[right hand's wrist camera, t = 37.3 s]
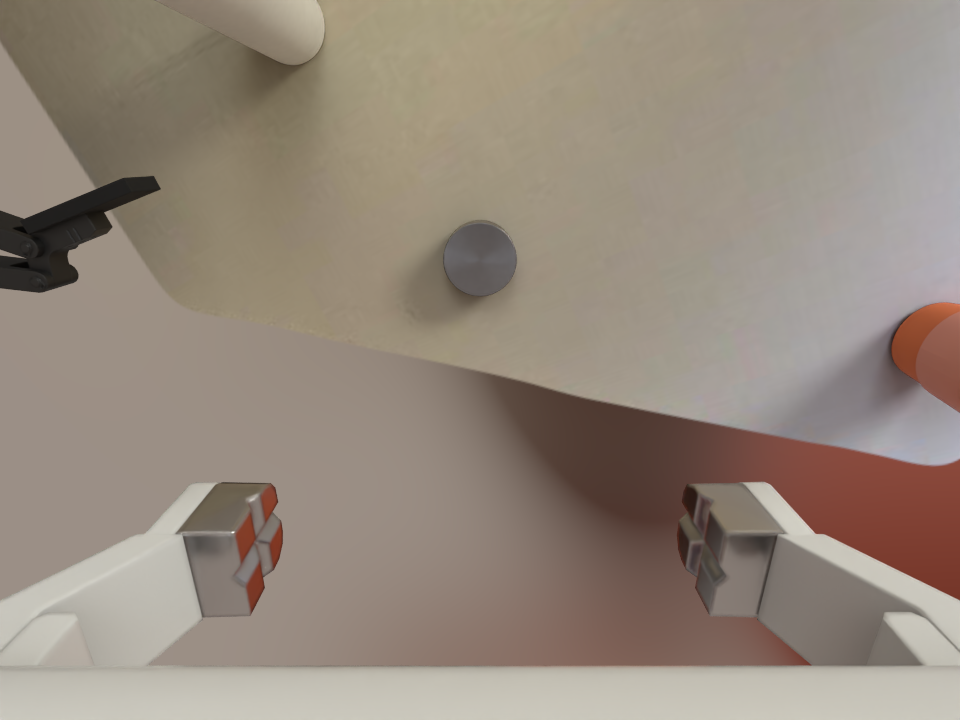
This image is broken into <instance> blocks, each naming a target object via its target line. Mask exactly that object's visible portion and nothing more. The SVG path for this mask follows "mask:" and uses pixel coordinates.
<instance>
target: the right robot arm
mask: <svg viewBox="0 0 960 720" xmlns="http://www.w3.org/2000/svg"><path fill="white" fill-rule="evenodd" d="M277 503H278V499H277V494H276V489H275V487H274V486H273V485H272V484H271V483H230V482H222V483H219V482H196V483H193V484H190V485H189V486H188V487H187V488H186V489H185V490H184V491H183V492H182V494H181V495H180V496H179V497H178V498H177V499H176V500H175V501H174V502H173V503H172V504H171V506H170V507H169V508H168V509H167V510H166V511H165V512H164V513H163V514H162V515H161V517H160V518H159V519H158V520H157V521H156V522H155V523H154V524H153V525H152V526H151V527H150V529H149V530H148V531H147V532H146V533H145V534H136V535H133V536H131V537H129V538H127V539H125V540H123V541H121V542H119V543H117V544H115V545H113V546H111V547H109V548H107V549H105V550H103V551H101V552H99V553H97V554H95V555H92V556H90V557H88V558H86V559H84V560H82V561H80V562H78V563H76V564H74V565H72V566H70V567H68V568H66V569H64V570H62V571H60V572H58V573H56V574H54V575H51V576H49V577H47V578H45V579H43V580H41V581H39V582H37V583H35V584H33V585H31V586H29V587H27V588H25V589H23V590H21V591H19V592H17V593H15V594H13V595H10V596H9V597H6V598H4V599H2V600H0V720H960V601H959V600H957V599H955V598H953V597H951V596H949V595H947V594H945V593H943V592H941V591H939V590H937V589H935V588H933V587H931V586H929V585H927V584H925V583H923V582H921V581H918V580H916V579H914V578H912V577H910V576H908V575H906V574H904V573H902V572H900V571H898V570H896V569H894V568H892V567H890V566H888V565H886V564H884V563H882V562H880V561H878V560H876V559H874V558H871V557H869V556H867V555H865V554H863V553H861V552H859V551H857V550H855V549H853V548H851V547H849V546H847V545H845V544H843V543H841V542H839V541H837V540H835V539H833V538H831V537H829V536H827V535H825V534H815V533H814V532H813V531H812V530H811V529H810V528H809V526H808V525H807V524H806V523H805V522H804V521H803V520H802V519H801V518H800V517H799V515H798V514H797V513H796V512H795V511H794V510H793V509H792V508H791V507H790V506H789V504H788V503H787V502H786V501H785V500H784V499H783V498H782V497H781V496H780V495H779V494H778V492H777V491H776V490H775V489H774V488H773V487H772V486H771V485H770V484H768V483H765V482H744V483H718V484H687V486H686V488H685V490H684V493H683V499H682V503H683V505H684V506H685V508H686V510H687V513H686V514H685V515H684V516H683V517H682V518H681V519H680V520H679V524H678V532H677V540H678V550H679V553H680V557H681V560H682V562H683V564H684V566H685V568H686V570H687V571H688V572H690V573H691V574H693V575H694V576H696V577H697V581H696V587H695V588H696V590H697V592H698V594H699V596H700V598H701V600H702V602H703V604H704V606H705V608H706V610H707V611H708V613H709V615H710V616H727V617H758V618H757V620H758V621H760V622H761V623H762V624H763V625H764V626H766V627H767V628H768V629H769V630H770V631H772V632H773V633H774V634H775V635H776V636H778V637H779V638H780V639H781V640H782V641H784V642H785V643H786V644H787V645H788V646H790V647H791V648H792V649H793V650H794V651H796V652H797V653H798V654H799V655H800V656H802V657H803V658H804V659H805V660H807V661H808V662H809V663H810V664H811V665H813V666H148V665H149V664H150V663H151V662H152V661H154V660H155V659H156V658H157V657H158V656H160V655H161V654H162V653H163V652H164V651H166V650H167V649H168V648H169V647H171V646H172V645H173V644H174V643H175V642H177V641H178V640H179V639H180V638H181V637H183V636H184V635H185V634H186V633H187V632H189V631H190V630H191V629H192V628H194V627H195V626H196V625H197V624H198V623H200V622H201V621H202V620H203V618H202V617H232V616H250V615H251V614H252V612H253V610H254V608H255V606H256V604H257V602H258V600H259V598H260V596H261V594H262V592H263V590H264V588H265V587H264V581H263V577H264V576H266V575H267V574H269V573H270V572H272V571H273V570H274V568H275V566H276V564H277V562H278V560H279V557H280V553H281V548H282V544H283V530H282V523H281V520H280V519H279V518H278V517H277V516H276V515H275V514H274V513H273V510H274V508H275V506H276V505H277Z"/></svg>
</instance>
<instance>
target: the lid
mask: <svg viewBox="0 0 960 720" xmlns="http://www.w3.org/2000/svg"><path fill="white" fill-rule="evenodd" d="M443 260H444V268H445V272H446V274H447V276H448V278H449V280H450V281H451V282H452V284H453V285H454V286H455V287H456V288H458V289H459V290H461V291H462V292H464V293H467V294H469V295H473V296H487V295H491V294H493V293H496V292H498V291H499V290H501V289H502V288H504V287H505V286H506V285H507V284H508V282H509V281H510V280H511V278H512V276H513V274H514V272H515V268H516V261H517V257H516V251H515V247H514V245H513V242H512V240H511V238H510V236H509V235H508V234H507V232H506V231H505V230H504V229H503V228H501V227H500V226H498V225H497V224H495V223H492V222H489V221H484V220H476V221H471V222H468V223H465V224H463V225H462V226H460V227H459V228H457V229H456V230H455V231H454V232H453V234H452V235H451V236H450V238H449V240H448V242H447V245H446V247H445V251H444V258H443Z"/></svg>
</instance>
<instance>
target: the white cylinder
mask: <svg viewBox="0 0 960 720" xmlns="http://www.w3.org/2000/svg"><path fill="white" fill-rule="evenodd" d="M155 1H157V2H159V3H161V4H163V5H165V6H167V7H169V8H171V9H173V10H175V11H177V12H179V13H181V14H183V15H185V16H188V17H190V18H192V19H194V20H196V21H198V22H200V23H202V24H204V25H206V26H208V27H210V28H212V29H214V30H216V31H218V32H220V33H222V34H224V35H226V36H228V37H230V38H232V39H234V40H236V41H238V42H240V43H242V44H244V45H246V46H248V47H250V48H252V49H254V50H256V51H258V52H260V53H262V54H264V55H266V56H268V57H270V58H272V59H274V60H276V61H278V62H280V63H283V64H287V65H299V64H303V63H305V62H307V61H309V60H310V59H312V58H313V57H314V56H315V55H316V54H317V52H318V51H319V49H320V48H321V45H322V43H323V39H324V34H325V23H324V17H323V14H322V11H321V8H320V6H319V4H318V2H317V1H316V0H155Z"/></svg>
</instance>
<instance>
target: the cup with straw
mask: <svg viewBox="0 0 960 720" xmlns="http://www.w3.org/2000/svg"><path fill="white" fill-rule="evenodd" d="M892 357H893V360H894V362H895V364H896V366H897V367H898V368H899V369H900V370H901V371H902V372H904V373H905V374H907V375H908V376H910V377H911V378H913V379H914V380H916V381H917V382H919V383H920V384H921V385H922V386H923V388H924V389H925V390H927V391H928V392H929V393H931V394H932V395H934V396H935V397H937V398H938V399H940V400H941V401H943V402H944V403H946V404H947V405H949V406H950V407H952V408H953V409H955V410H957V411H958V412H960V304H954V303H936V304H931V305H928V306H925V307H923V308H921V309H919V310H917V311H916V312H914V313H913V314H911V315H910V316H909V317H908V318H907V319H906V320H905V321H904V322H903V323H902V324H901V326H900V327H899V328H898V330H897V332H896V334H895V336H894V339H893V342H892Z"/></svg>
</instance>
